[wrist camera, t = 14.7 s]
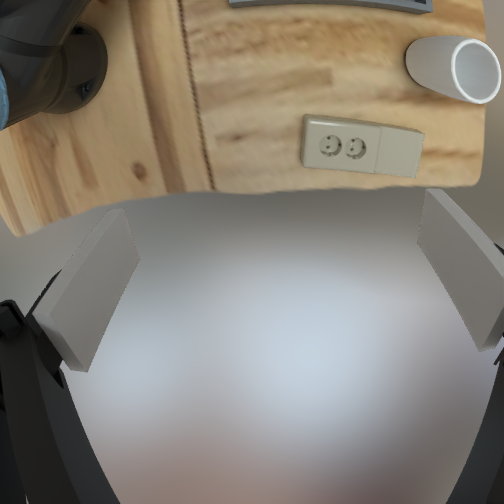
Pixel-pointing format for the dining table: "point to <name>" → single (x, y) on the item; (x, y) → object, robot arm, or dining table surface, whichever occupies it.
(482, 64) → the cup
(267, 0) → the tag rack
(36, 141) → the dining table surface
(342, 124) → the electrical outlet
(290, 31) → the dining table surface
